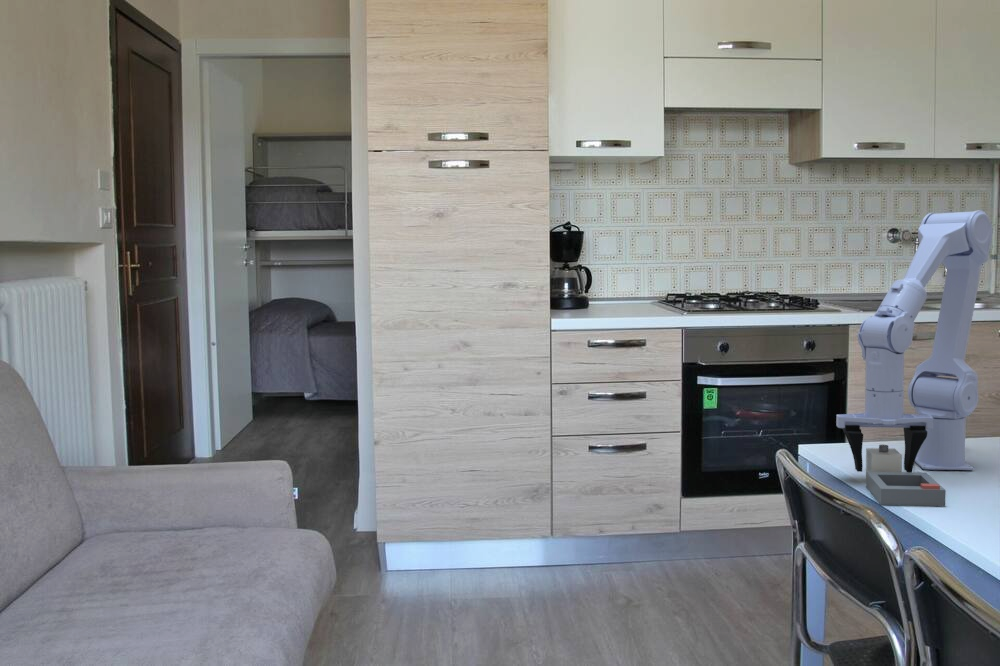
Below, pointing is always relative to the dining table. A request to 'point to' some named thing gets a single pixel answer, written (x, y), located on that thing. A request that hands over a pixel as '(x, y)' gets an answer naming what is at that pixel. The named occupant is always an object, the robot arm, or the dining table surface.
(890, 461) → the plug
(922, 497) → the socket plate
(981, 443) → the dining table surface
